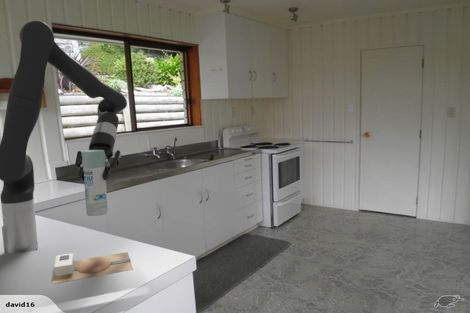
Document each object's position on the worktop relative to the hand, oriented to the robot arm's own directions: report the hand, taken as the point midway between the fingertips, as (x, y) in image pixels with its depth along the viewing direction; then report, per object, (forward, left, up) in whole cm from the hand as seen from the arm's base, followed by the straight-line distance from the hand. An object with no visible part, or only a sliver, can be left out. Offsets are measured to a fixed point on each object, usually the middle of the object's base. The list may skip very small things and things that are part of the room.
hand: (93, 178), depth 110 cm
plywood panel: (-1, -12, -25) cm, 28 cm away
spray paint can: (0, +2, -12) cm, 12 cm away
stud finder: (-9, -10, -23) cm, 27 cm away
